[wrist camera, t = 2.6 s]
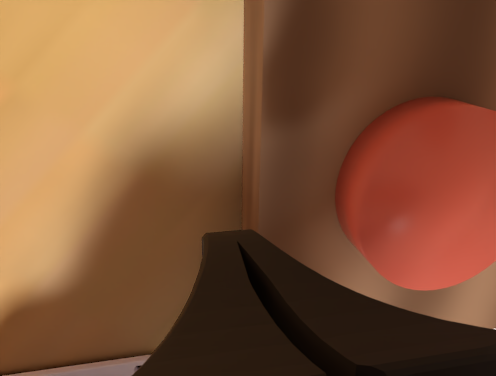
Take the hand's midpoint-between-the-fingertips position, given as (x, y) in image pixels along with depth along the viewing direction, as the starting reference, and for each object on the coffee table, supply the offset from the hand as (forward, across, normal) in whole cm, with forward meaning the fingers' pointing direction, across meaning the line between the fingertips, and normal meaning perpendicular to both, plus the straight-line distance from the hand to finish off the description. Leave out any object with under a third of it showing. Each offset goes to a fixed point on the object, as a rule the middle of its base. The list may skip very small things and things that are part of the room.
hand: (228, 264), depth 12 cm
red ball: (+5, -8, 0) cm, 10 cm away
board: (+8, -9, 0) cm, 12 cm away
